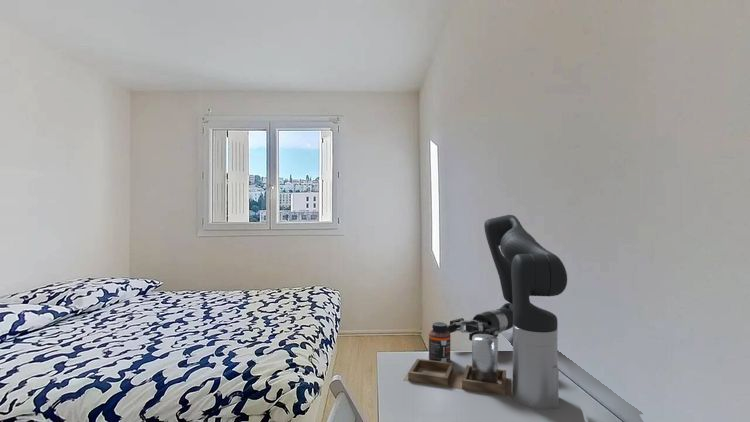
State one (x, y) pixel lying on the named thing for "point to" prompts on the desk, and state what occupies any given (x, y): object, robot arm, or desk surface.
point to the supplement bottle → (439, 343)
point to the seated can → (485, 358)
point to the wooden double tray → (456, 377)
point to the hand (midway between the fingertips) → (458, 333)
